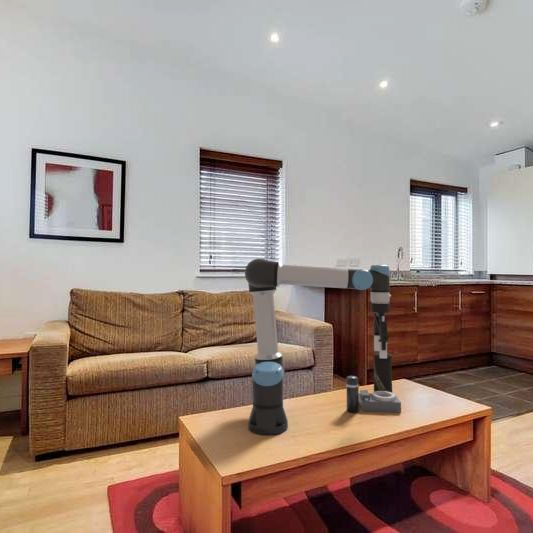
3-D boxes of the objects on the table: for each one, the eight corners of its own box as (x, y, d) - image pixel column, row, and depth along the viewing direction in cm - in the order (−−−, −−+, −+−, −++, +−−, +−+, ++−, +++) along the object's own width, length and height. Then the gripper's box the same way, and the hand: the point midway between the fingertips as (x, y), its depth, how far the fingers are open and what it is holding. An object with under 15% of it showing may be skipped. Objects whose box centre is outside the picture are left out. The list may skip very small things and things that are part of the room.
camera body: (362, 410, 159) (362, 396, 159) (358, 401, 170) (358, 388, 170) (401, 412, 157) (400, 397, 157) (395, 403, 168) (394, 389, 168)
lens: (347, 412, 157) (346, 378, 157) (345, 408, 162) (345, 375, 162) (359, 413, 156) (359, 379, 156) (358, 408, 161) (357, 375, 162)
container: (370, 392, 184) (370, 351, 184) (388, 391, 185) (387, 350, 185) (377, 397, 175) (377, 355, 176) (396, 397, 176) (395, 354, 176)
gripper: (396, 305, 141) (396, 361, 141) (383, 300, 166) (384, 348, 165) (375, 305, 142) (375, 361, 142) (366, 300, 167) (366, 348, 166)
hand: (380, 354), depth 153 cm, fingers open, 13 cm apart
